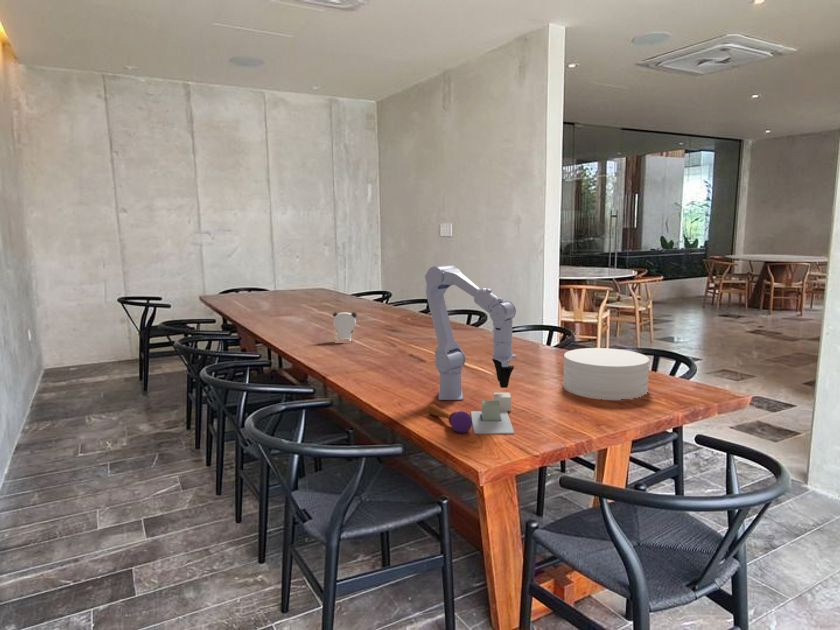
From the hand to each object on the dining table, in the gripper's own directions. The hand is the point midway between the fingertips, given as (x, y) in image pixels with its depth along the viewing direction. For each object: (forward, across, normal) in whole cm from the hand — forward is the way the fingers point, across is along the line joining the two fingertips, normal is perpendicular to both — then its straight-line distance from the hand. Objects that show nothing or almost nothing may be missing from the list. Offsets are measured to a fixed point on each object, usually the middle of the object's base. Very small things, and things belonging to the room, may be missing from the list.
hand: (502, 384), depth 173 cm
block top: (+8, 0, 0) cm, 8 cm away
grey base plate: (+8, -13, +5) cm, 16 cm away
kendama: (+8, -14, +17) cm, 23 cm away
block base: (+7, -10, +4) cm, 13 cm away
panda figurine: (+8, +106, +68) cm, 126 cm away
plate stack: (+8, +22, -38) cm, 45 cm away
